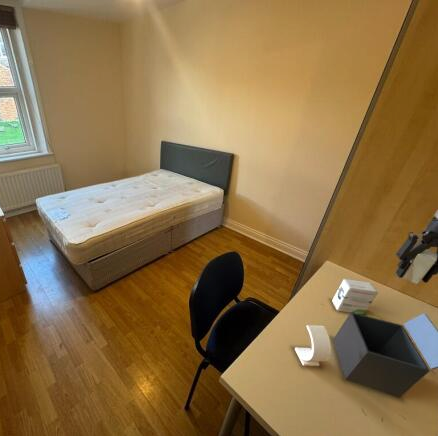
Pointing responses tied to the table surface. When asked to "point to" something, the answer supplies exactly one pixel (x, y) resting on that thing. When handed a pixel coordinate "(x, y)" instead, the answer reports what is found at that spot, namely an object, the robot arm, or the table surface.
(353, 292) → the ink box
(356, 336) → the grey container
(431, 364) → the panel
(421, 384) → the table surface
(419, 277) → the box
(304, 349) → the headphone stand
